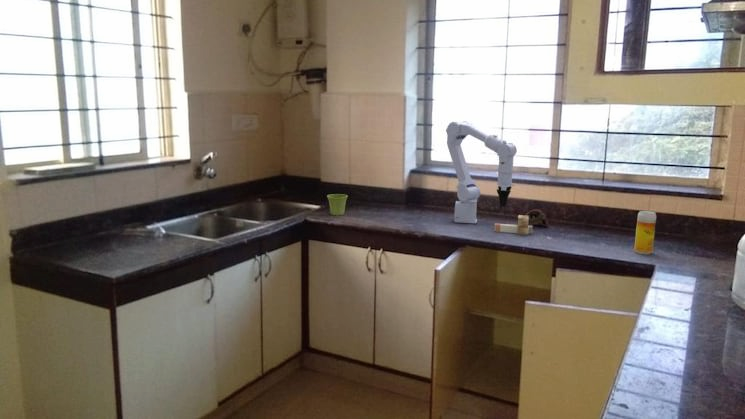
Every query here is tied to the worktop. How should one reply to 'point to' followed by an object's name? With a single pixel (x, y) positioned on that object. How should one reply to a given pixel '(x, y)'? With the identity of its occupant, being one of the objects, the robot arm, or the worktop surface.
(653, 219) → the pill bottle
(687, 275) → the worktop surface
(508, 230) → the white bar
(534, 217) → the pottery mug
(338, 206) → the plant pot
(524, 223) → the tan wooden brick
